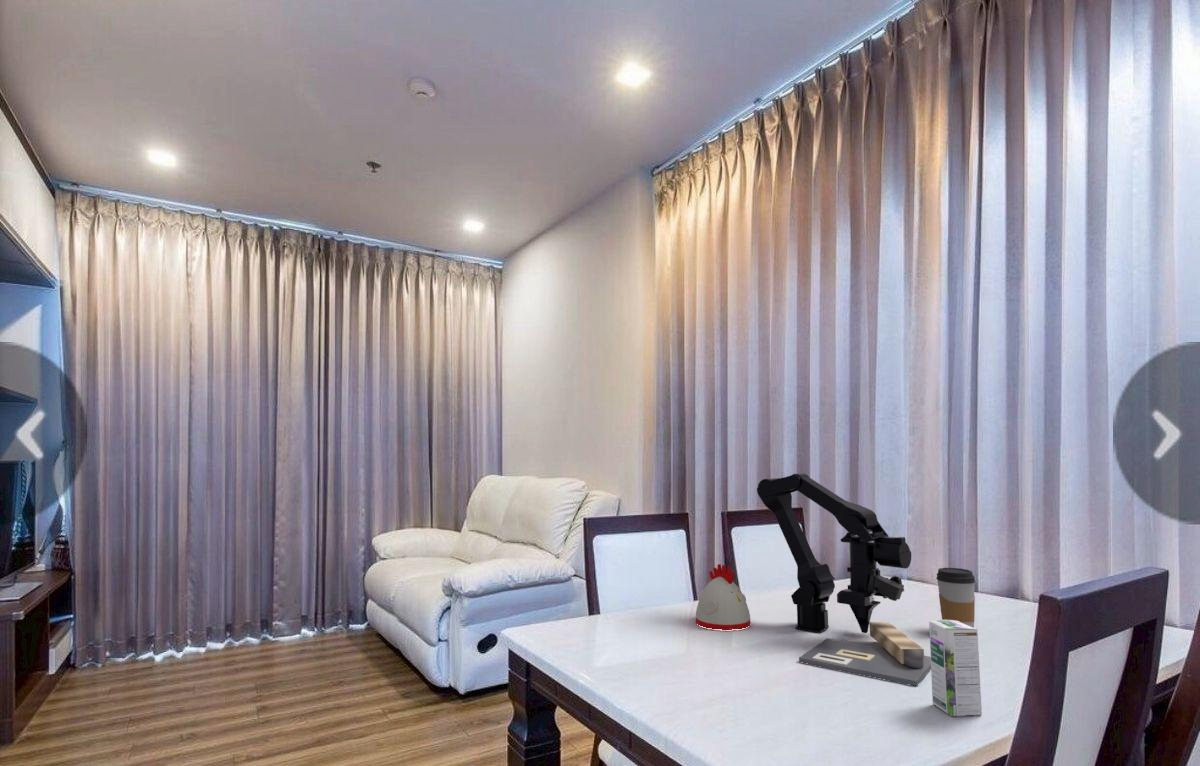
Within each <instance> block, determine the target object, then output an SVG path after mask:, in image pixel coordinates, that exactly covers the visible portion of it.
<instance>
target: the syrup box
mask: <svg viewBox="0 0 1200 766" xmlns="http://www.w3.org/2000/svg"><path fill="white" fill-rule="evenodd" d="M928 623H929V624H928V626H929V649H930V651H929V652H930V657H931V670H930V674H931V675H930V678H931V692H932V693H931V696H932V700H931V701H932V705H933V706H935V705H936V707H937V708H938V709H940V710H941V711H943V712H945V714H947V715H948V716H949V717H951V716H957V717H964V716H963V715H974V716H982V715H983V712H982V709H983V708H982V707H983V706H982V694H981V688H982V687H981V674H980V673H981V672H980V671H981V670H980V654H979V653H980V652H979V633H978V628H976V627H974V628H972V627H970V626H968V625H965V624H963V623H961V622H959V621H955V620H942V619H934V620H929V622H928Z"/></svg>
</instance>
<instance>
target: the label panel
mask: <svg viewBox="0 0 1200 766" xmlns="http://www.w3.org/2000/svg"><path fill="white" fill-rule="evenodd" d="M798 662H803V663H802V664H804V663H808V664H807V665H809V664H812V665H811V666H814V665H816V666H815V667H819V666H821V667H820V668H823V667H825V668H824V669H828V668H830V669H829V670H833V669H835V670H834V671H838V670H841V671H840V672H843V671H844V673H848V672H850V674H853V673H855V674H854V675H858V674H861V675H860V676H863V675H865V676H864V677H867V676H871V677H870V678H872V677H876V678H875V679H877V678H881V679H880V680H882V679H885V680H884V681H887V680H890V681H889V682H892V681H894V683H897V682H900V683H899V684H902V683H904V684H903V685H907V684H910V685H909V686H911V685H914V686H913V687H916V686H917V687H919V685H920V684H921V683H922V681H923V680H924V679H925V677H926V676H927V675H928V674H929V673H930V672H931V656H928V655H924V662H925V664H923V667H921V668H913V667H908V666H906V665H904V664H901V663H900V662H899V661H898V660H897V659H896V658H895V657H894V656H893V655H891V654H890V653H889V652H888V651H887V650H886V649H885V648H884V647H876V646H871V645H867V644H860V643H855V642H849V641H844V640H838V639H833V638H832V639H831V638H825V639H823V640H822V641H821V642H818V644H817V645H815V646H814V647H812V648H811V649H810V650H808V651H806V652H805V653H803V654H802V655H801V656H799V657H798ZM920 682H921V683H920ZM919 683H920V684H919ZM918 684H919V685H918ZM915 685H916V686H915Z"/></svg>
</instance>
